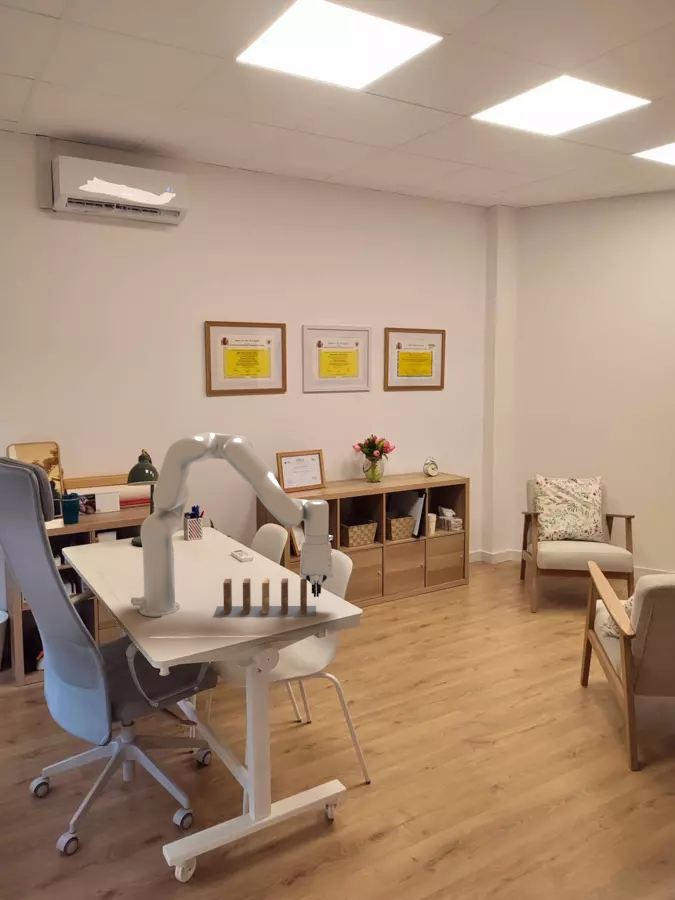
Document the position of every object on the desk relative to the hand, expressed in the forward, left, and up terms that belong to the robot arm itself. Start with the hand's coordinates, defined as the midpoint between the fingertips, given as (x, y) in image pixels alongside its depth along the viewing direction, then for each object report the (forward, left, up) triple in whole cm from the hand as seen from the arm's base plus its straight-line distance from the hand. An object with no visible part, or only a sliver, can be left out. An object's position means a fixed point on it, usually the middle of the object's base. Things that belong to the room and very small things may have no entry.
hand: (316, 595), depth 219 cm
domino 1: (-28, 0, -5) cm, 28 cm away
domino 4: (-10, 0, -5) cm, 11 cm away
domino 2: (-22, 0, -5) cm, 23 cm away
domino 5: (-4, 0, -5) cm, 6 cm away
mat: (-16, 0, -6) cm, 17 cm away
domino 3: (-16, 0, -5) cm, 17 cm away
